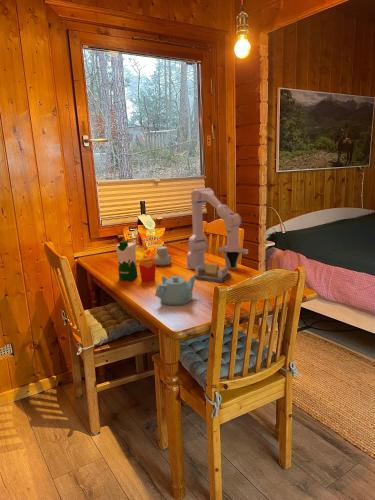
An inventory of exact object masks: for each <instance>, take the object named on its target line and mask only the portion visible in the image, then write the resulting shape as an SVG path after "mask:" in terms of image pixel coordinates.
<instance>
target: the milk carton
mask: <svg viewBox="0 0 375 500" xmlns="http://www.w3.org/2000/svg"><path fill="white" fill-rule="evenodd" d="M136 247H137V243H136V242H128V240H120V241H119V244H117V245H116V246H115V251H116V255H117V256H116V257H117V265H118V266H117V267H118V280H119V281H124V282H125V281H127V282H132V281H134V280H135V279H136V278H138V269H137V255H136Z"/></svg>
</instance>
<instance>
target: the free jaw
mask: <svg viewBox="0 0 375 500" xmlns="http://www.w3.org/2000/svg"><path fill="white" fill-rule="evenodd" d="M228 273H229V270H228V267H227V266H226V265H224V266H222V267H221V268H219V270H218V278H223V277H225V276H226V275H227V274H228Z"/></svg>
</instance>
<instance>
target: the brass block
mask: <svg viewBox="0 0 375 500" xmlns="http://www.w3.org/2000/svg"><path fill="white" fill-rule="evenodd" d="M205 263H206V262H205ZM219 269H220V263H216V262H207V263H206V264H205V276H212V277H217V276H218V270H219Z"/></svg>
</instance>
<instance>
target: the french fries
mask: <svg viewBox="0 0 375 500" xmlns="http://www.w3.org/2000/svg"><path fill="white" fill-rule="evenodd" d="M138 261H139V264H138V267H139V268H138V269H139V273H140V278H141V279H140V280H141V282H142V283H145V284H146V283H151V282H155V281H156V266H157V264H156V263H155V262H156V258H155V256H153V257H152V256H146V257H143V258H140V259H138Z"/></svg>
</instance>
